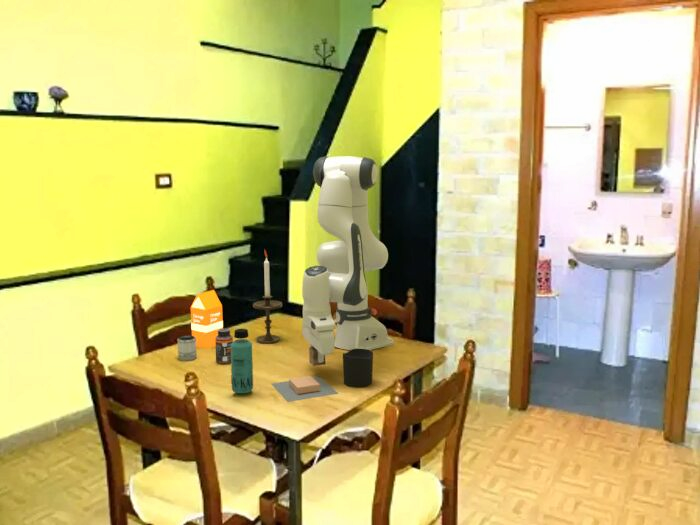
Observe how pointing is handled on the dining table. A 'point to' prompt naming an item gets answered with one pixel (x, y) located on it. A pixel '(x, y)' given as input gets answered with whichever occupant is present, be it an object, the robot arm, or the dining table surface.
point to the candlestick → (267, 308)
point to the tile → (304, 385)
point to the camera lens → (187, 348)
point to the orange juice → (206, 318)
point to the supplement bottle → (223, 346)
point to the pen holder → (358, 368)
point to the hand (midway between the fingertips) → (317, 359)
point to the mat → (293, 396)
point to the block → (314, 357)
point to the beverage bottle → (241, 363)
